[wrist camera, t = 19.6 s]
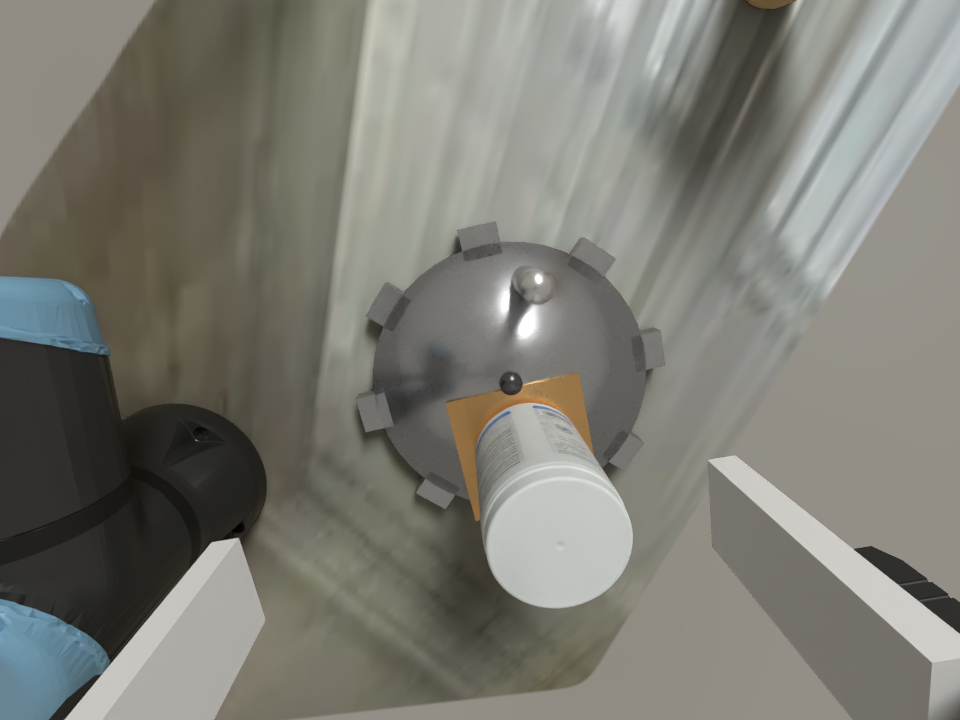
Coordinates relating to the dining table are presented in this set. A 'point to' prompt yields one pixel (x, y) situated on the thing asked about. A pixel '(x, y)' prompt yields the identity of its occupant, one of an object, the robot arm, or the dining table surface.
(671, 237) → the dining table surface
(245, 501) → the robot arm
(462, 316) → the sprocket
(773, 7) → the ice cream cone
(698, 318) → the dining table surface
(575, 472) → the supplement tub
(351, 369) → the dining table surface
